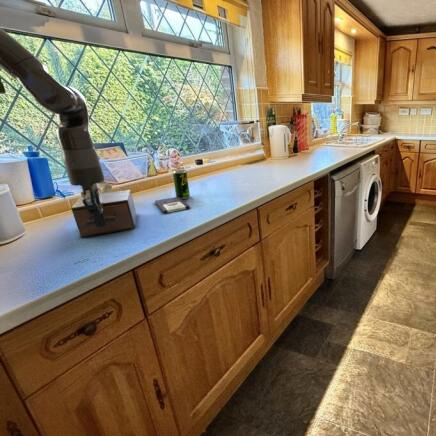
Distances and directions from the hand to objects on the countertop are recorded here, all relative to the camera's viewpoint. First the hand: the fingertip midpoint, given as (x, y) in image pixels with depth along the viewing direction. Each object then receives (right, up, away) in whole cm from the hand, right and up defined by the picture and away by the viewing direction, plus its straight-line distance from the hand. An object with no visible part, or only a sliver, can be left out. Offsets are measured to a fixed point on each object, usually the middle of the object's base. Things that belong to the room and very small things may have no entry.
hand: (101, 225), depth 87 cm
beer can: (+2, +11, +44) cm, 45 cm away
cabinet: (-7, 0, +14) cm, 16 cm away
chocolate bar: (+3, +7, +33) cm, 34 cm away
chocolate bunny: (-22, +7, +36) cm, 42 cm away
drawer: (-5, 0, +11) cm, 12 cm away
